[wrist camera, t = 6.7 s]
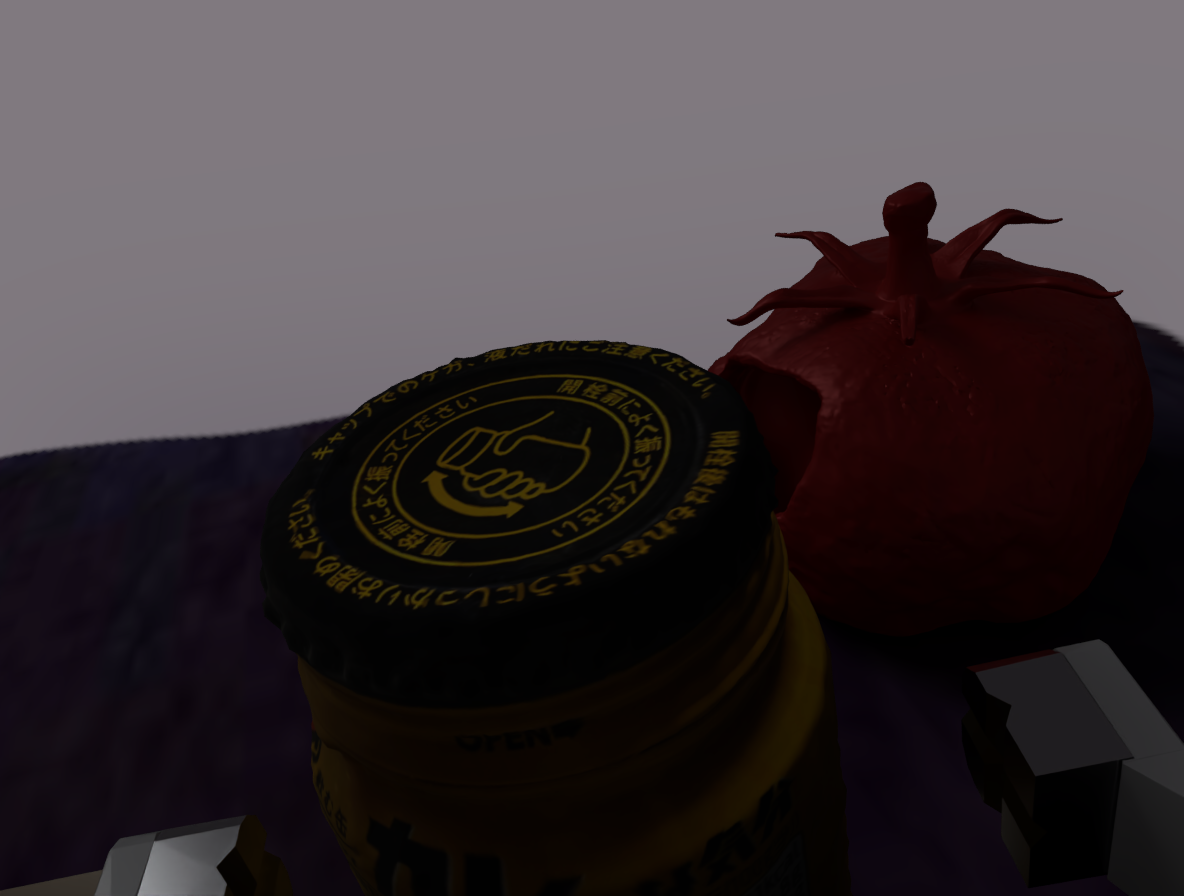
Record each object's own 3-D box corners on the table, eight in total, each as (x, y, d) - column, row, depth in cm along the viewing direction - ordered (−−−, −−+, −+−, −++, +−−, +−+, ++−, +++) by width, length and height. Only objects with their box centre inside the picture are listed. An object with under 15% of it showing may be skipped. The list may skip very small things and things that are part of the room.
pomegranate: (1108, 430, 28) (1151, 81, 23) (1168, 712, 21) (1253, 280, 16) (743, 426, 32) (712, 118, 26) (675, 671, 24) (613, 299, 19)
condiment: (829, 838, 20) (765, 249, 13) (1028, 1437, 13) (1101, 803, 6) (449, 914, 20) (201, 371, 13) (435, 1547, 13) (-109, 1047, 6)
